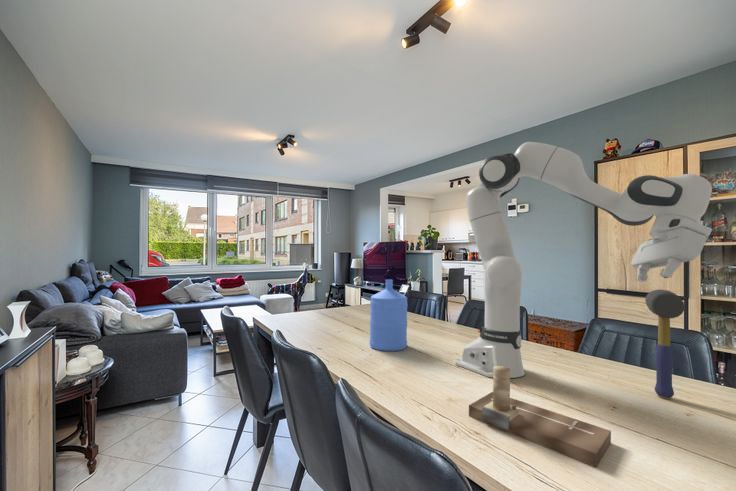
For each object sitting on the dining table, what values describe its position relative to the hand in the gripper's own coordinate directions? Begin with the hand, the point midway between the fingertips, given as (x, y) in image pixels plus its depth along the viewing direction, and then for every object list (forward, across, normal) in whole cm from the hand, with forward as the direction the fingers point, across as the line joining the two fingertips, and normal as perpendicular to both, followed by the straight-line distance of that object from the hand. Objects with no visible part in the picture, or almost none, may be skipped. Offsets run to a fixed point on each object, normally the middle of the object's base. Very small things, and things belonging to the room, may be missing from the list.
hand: (652, 278), depth 86 cm
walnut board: (+47, +10, -14) cm, 50 cm away
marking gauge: (+49, +10, -21) cm, 54 cm away
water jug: (+55, -48, -54) cm, 91 cm away
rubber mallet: (+25, -14, +21) cm, 36 cm away
